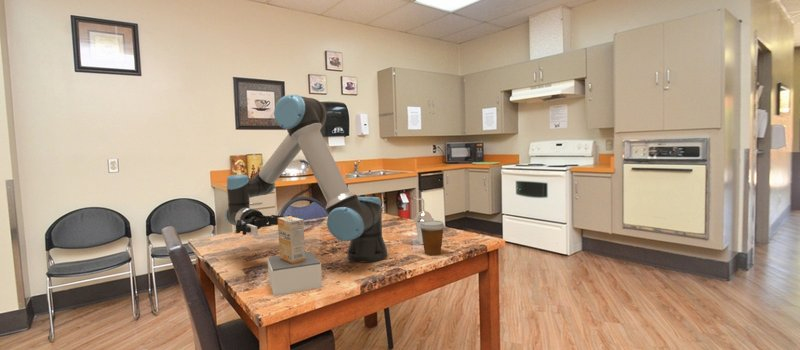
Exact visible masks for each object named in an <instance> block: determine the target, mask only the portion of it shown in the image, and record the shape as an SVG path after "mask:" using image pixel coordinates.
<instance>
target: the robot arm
mask: <svg viewBox="0 0 800 350" xmlns="http://www.w3.org/2000/svg"><path fill="white" fill-rule="evenodd" d="M273 116H274V120H275V122H276V123H277V125H278V126H279V127H280V128H282V129H284V130H286V131H287V135H286V136H285V137H284V139H283V140H282V142H281V143H280V144H279V145H278V147H277V148H276V149H275V151H273V153H272V154H271V156H270V157H269V159H268V160H267V162H265V164H264V165H263V166H262V168H261V169H260V170H259V172H258V173H257V174H256V175H255V176H254V177H251V178H249V176H248V175H247V174H232V175H229V176H227V178H226V189H227V203H228V204H227V209H226V210H225V213H224V214H225V215H224V217H225V219H226V221H227V222H228V223H229V224H230V225H233V226H235V233H236V234H241V232H242V236H246V235H247V234H249V235H252V236H259V234H258V230H259V229H261V228H262V227H271V226H278V218H280V217H287V216H292V217H295V216H294V215H289V214H288V215H276V214H271V215H264V214H263V212H261V211H260V210H257V209H255V208H250V205H251V204H250V203H251V202H250V198H254V197H259V196H266V195H268V194H271V193H273V191H274V190H275V187H276V182H277V180H278V179H279V178H280V176H281V175H283V173H284V172H285V170H286V169H287V168H288V167H289V166H290V164H291V163H292V162H293V161H294V159H295V158H296V157H297V155H298V154H299V153H300V152H301V151H302V154H303V156H304V158H305V160H306V161H307V164H308V166H309V168H310V170H311V172H312V174H313V176H314V178H315V180H316V182H317V184H318V186H319V188H320V190H321V191H320V192H322V194H323V195H322V196H323V197H324V199H325V201H326V206H325V211H326V213H327V219H326V227H327V229H328V231H329V233H330V234H331V235H332V236H333V237H334V238H336V239H337V240H340V241H344V242H346V241H347V242H348V241H349V244H348V248H347V253H346V254H347V256H346V257H347V260H349V261H351V262H352V261H353V262H358V263H372V262H377V261H382V260H385V259H386V258H388V248H387V245H386V243H385V240H384V237H383V224H382V223H383V221H382V217H383V216H382V213H383V212H382V200H381V199H380V197H377V196H358V195H357V193H354V192H351V191H350V188H349V187H348V185H347V183H346V181H345V179H344V177H343V175H342V173H341V171H340V169H339V167H338V165H337V163H336V161H335V159H334V156H333V155H332V152H331V151H330V148H329V147H328V144H327V143H326V140H325V138H324V136H323V134H322V132H321V130H322V128H323V127H324V124H326V123H325V122H326V119H327V111H326V108H325V106H324V105H323V104H322V102H321V101H319V100H318V99H315V98H313V97H306V96H301V95H299V94H286V95H283V96H281V98H279V100H278V101H277V102H276V104H275V108H274V110H273Z"/></svg>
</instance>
